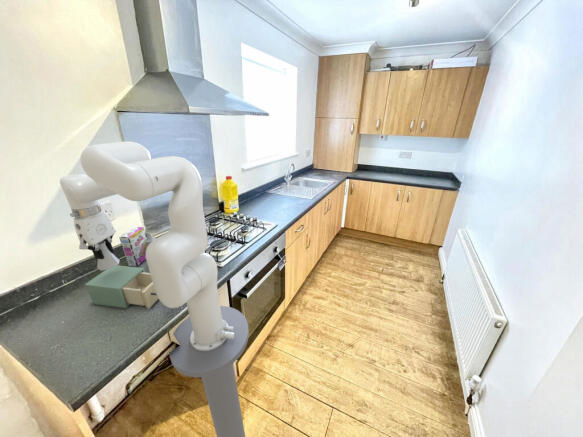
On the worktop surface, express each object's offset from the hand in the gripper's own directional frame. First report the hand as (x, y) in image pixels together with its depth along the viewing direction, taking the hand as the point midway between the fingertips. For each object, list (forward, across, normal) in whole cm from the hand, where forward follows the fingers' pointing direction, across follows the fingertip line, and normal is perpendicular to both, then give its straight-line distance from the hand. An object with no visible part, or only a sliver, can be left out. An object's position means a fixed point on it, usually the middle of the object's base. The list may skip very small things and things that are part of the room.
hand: (105, 254), depth 88 cm
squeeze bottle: (+20, +21, -1) cm, 29 cm away
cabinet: (+19, 0, -1) cm, 19 cm away
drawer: (+19, 0, -15) cm, 24 cm away
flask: (+5, 0, 0) cm, 5 cm away
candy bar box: (+20, +23, +10) cm, 32 cm away
